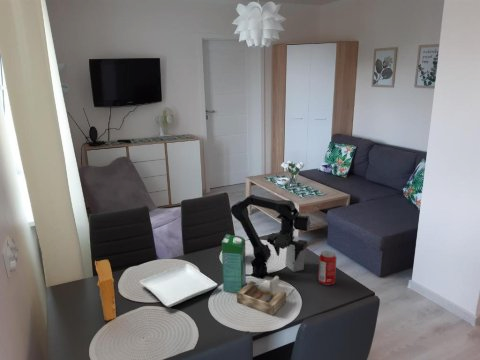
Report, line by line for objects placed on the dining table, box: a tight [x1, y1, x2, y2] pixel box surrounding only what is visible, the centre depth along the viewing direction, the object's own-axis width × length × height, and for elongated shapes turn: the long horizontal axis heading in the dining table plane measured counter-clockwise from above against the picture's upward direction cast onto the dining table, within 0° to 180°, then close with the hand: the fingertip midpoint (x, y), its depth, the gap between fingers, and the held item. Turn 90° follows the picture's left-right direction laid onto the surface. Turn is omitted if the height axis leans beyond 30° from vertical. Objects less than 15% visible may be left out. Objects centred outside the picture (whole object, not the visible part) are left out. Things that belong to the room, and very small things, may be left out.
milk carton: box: [221, 233, 247, 293], centre depth 175 cm, size 9×9×25 cm
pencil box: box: [236, 280, 287, 317], centre depth 165 cm, size 18×12×5 cm, turn 56°
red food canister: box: [318, 250, 337, 286], centre depth 179 cm, size 8×8×15 cm
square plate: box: [139, 263, 218, 308], centre depth 178 cm, size 27×27×4 cm
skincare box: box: [284, 235, 307, 273], centre depth 193 cm, size 8×7×16 cm
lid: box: [257, 275, 294, 298], centre depth 175 cm, size 15×10×6 cm, turn 57°
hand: (286, 258), depth 180 cm, fingers open, 9 cm apart
